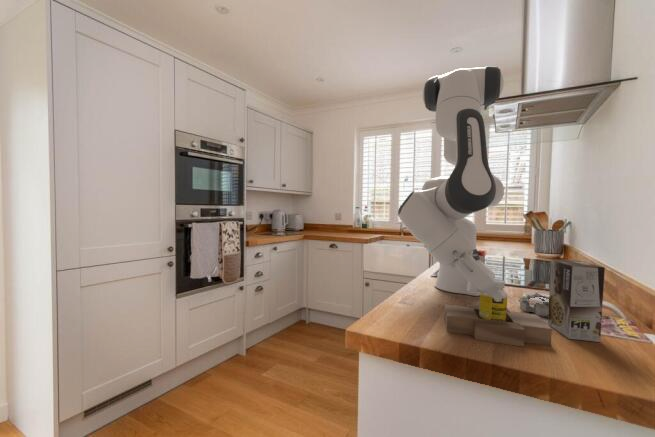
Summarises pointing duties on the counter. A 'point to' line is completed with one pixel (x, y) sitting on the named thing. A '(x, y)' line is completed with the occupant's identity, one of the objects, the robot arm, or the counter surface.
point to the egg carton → (537, 308)
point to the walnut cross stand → (497, 326)
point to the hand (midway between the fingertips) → (496, 295)
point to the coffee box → (576, 299)
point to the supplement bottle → (494, 304)
